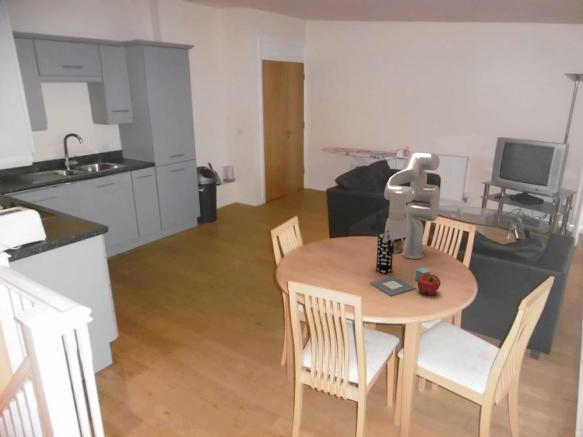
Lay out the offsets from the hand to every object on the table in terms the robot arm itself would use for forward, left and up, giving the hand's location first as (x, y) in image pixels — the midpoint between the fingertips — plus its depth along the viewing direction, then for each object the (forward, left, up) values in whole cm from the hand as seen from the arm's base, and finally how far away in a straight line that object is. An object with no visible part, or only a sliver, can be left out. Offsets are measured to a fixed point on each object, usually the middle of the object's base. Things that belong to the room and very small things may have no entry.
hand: (394, 251), depth 205 cm
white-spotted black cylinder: (-8, -16, -19) cm, 26 cm away
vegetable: (-10, +14, -19) cm, 25 cm away
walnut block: (0, 0, -1) cm, 1 cm away
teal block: (-17, +3, -19) cm, 25 cm away
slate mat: (0, 0, -19) cm, 19 cm away
